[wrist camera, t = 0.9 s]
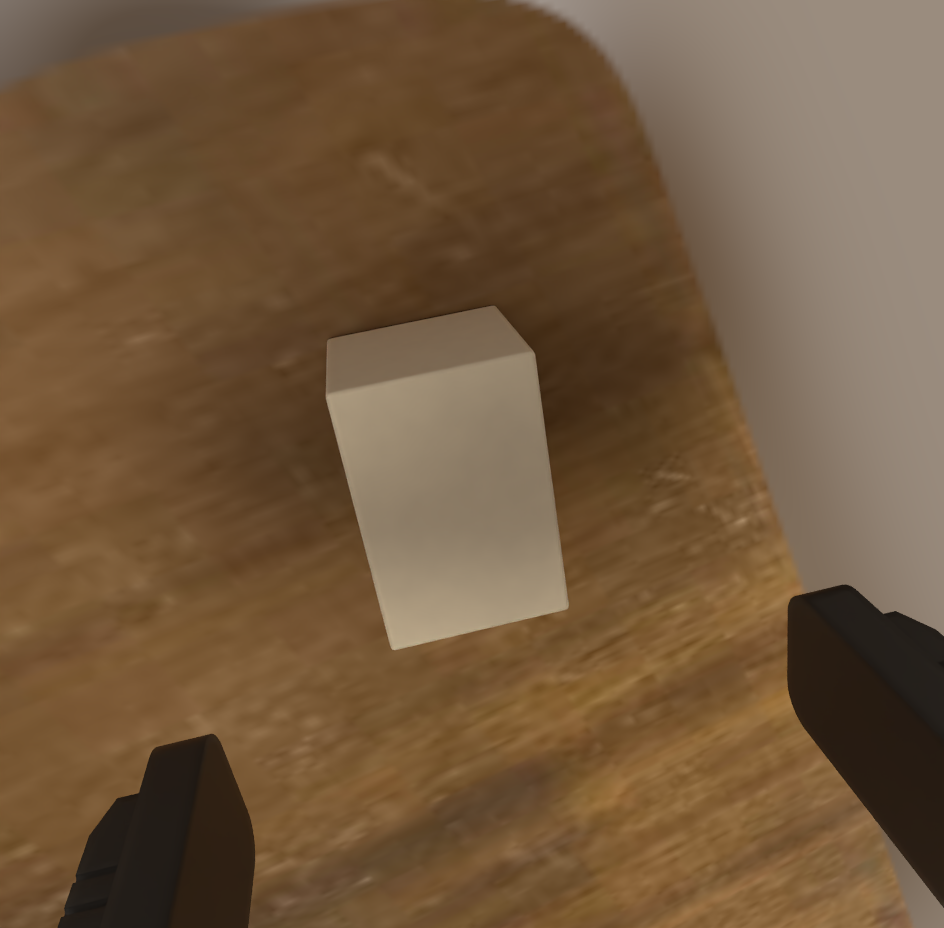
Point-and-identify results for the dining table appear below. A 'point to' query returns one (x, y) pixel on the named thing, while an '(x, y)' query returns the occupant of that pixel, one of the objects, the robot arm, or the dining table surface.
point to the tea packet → (448, 473)
